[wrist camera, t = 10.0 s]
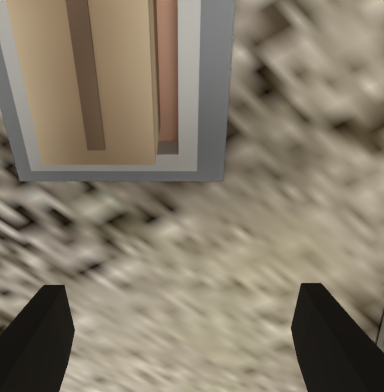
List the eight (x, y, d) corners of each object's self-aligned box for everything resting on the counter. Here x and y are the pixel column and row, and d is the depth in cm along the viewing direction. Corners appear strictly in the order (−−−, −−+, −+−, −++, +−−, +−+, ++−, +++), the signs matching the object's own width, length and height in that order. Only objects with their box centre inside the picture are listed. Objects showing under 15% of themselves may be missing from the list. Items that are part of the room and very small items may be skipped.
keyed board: (222, 177, 19) (226, 198, 17) (22, 177, 18) (6, 198, 17) (248, -223, 11) (260, -257, 10) (-83, -233, 11) (-132, -270, 9)
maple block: (153, -102, 12) (142, -130, 9) (160, 124, 17) (154, 166, 13) (33, -105, 12) (-26, -135, 9) (71, 124, 16) (41, 165, 13)
